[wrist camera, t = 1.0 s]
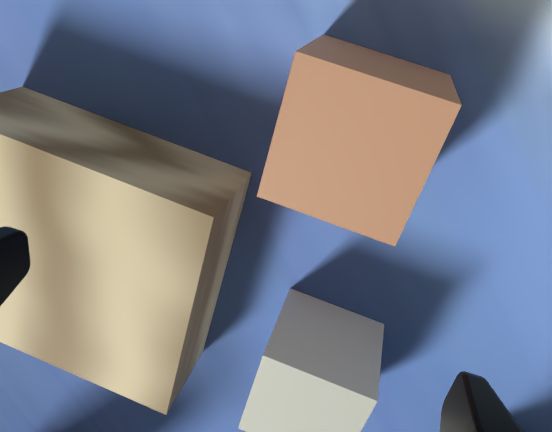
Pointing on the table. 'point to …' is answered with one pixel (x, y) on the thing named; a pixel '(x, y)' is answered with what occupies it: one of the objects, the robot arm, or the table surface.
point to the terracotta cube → (357, 136)
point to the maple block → (113, 245)
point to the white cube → (316, 370)
